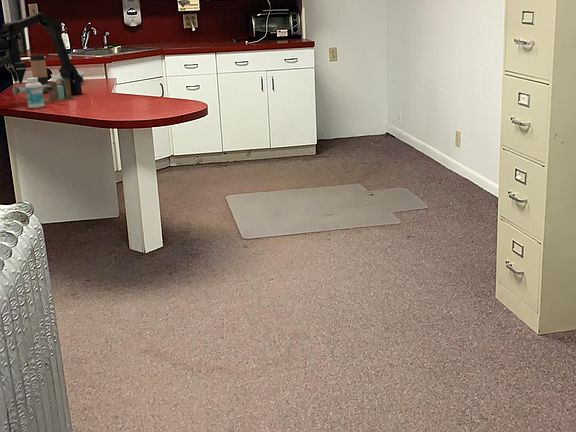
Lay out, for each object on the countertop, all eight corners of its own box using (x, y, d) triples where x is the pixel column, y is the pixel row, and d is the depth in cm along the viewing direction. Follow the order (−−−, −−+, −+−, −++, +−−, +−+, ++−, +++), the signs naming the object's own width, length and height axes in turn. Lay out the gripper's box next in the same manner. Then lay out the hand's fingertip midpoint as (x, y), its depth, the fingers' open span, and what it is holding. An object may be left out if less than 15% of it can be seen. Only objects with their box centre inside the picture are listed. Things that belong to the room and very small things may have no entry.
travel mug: (32, 94, 405) (26, 56, 399) (41, 92, 412) (36, 54, 406) (43, 94, 402) (38, 56, 396) (52, 92, 409) (47, 54, 403)
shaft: (52, 90, 376) (51, 81, 375) (55, 91, 372) (53, 82, 371) (13, 95, 366) (12, 85, 365) (15, 95, 363) (14, 86, 361)
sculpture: (84, 85, 438) (82, 68, 435) (50, 87, 434) (48, 70, 432) (86, 81, 461) (84, 65, 459) (54, 83, 458) (52, 67, 455)
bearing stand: (69, 97, 384) (66, 79, 381) (75, 98, 376) (72, 80, 373) (29, 101, 374) (26, 83, 371) (34, 103, 366) (32, 84, 363)
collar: (61, 97, 380) (59, 85, 378) (64, 98, 375) (63, 86, 373) (55, 97, 378) (53, 85, 376) (58, 98, 373) (57, 86, 371)
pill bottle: (27, 107, 354) (23, 78, 350) (43, 105, 356) (39, 76, 353) (28, 108, 347) (24, 79, 343) (45, 107, 350) (41, 78, 346)
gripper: (-9, 50, 363) (-4, 83, 368) (0, 51, 348) (5, 85, 352) (15, 48, 369) (20, 80, 373) (24, 50, 354) (29, 83, 358)
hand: (18, 82), depth 364 cm, fingers open, 9 cm apart
